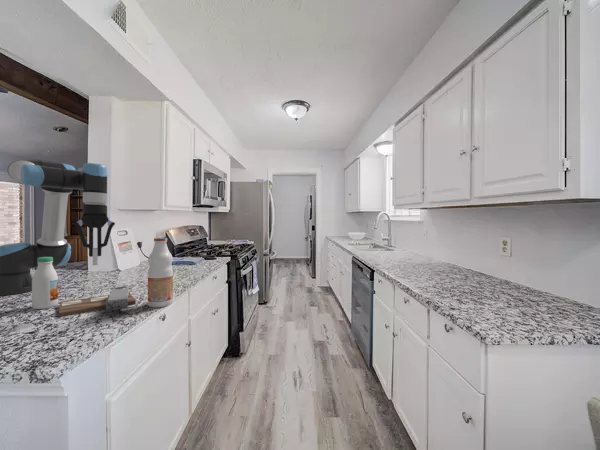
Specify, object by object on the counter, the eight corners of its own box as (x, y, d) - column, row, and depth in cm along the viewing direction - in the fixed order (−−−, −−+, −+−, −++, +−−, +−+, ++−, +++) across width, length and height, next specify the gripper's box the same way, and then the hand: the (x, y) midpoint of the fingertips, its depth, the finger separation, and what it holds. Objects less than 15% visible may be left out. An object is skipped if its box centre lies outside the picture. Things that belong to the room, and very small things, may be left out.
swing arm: (112, 294, 119) (112, 287, 119) (129, 292, 123) (129, 285, 123) (106, 310, 98) (106, 302, 98) (127, 308, 102) (127, 299, 102)
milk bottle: (42, 310, 104) (41, 259, 104) (26, 309, 106) (26, 258, 105) (63, 304, 112) (63, 256, 111) (48, 303, 113) (48, 255, 113)
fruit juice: (157, 309, 107) (157, 239, 106) (142, 305, 111) (142, 238, 110) (177, 303, 115) (178, 237, 115) (163, 299, 119) (163, 237, 119)
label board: (60, 305, 110) (60, 301, 110) (129, 295, 125) (129, 291, 125) (59, 316, 98) (59, 311, 98) (135, 304, 113) (135, 299, 113)
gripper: (115, 205, 111) (115, 262, 112) (74, 203, 104) (74, 264, 104) (115, 204, 105) (115, 264, 106) (72, 203, 97) (72, 267, 98)
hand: (95, 264), depth 105 cm, fingers closed
